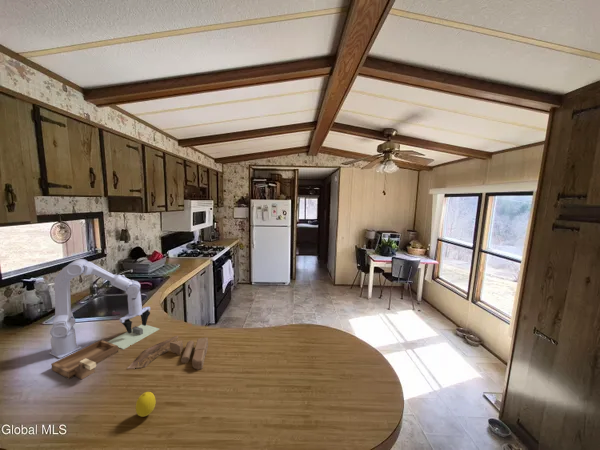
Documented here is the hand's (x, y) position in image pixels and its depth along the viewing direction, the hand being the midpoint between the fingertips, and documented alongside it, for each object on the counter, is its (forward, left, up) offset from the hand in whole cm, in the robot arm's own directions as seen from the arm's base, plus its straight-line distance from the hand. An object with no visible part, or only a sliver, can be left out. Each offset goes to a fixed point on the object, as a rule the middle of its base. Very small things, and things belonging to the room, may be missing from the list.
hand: (137, 328), depth 123 cm
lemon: (+51, -30, -3) cm, 59 cm away
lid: (0, -2, -4) cm, 4 cm away
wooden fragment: (+23, -6, -3) cm, 24 cm away
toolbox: (+3, -22, -3) cm, 22 cm away
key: (+12, -27, +1) cm, 30 cm away
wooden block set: (+40, -5, -4) cm, 41 cm away
